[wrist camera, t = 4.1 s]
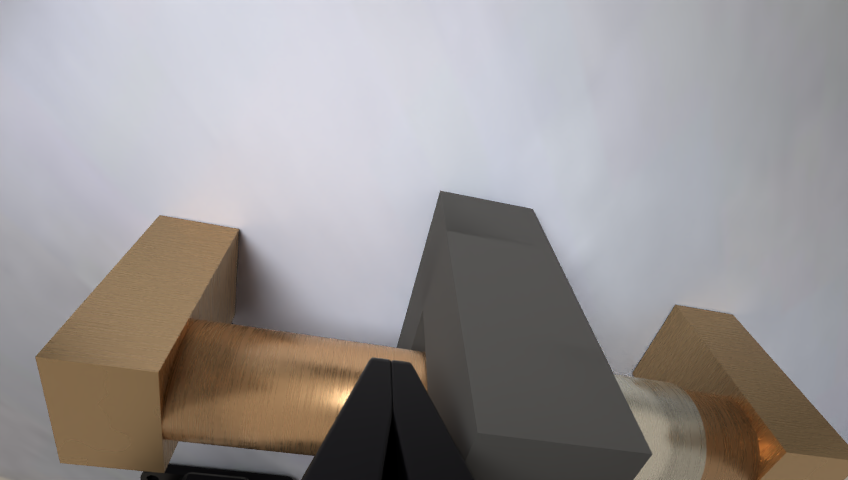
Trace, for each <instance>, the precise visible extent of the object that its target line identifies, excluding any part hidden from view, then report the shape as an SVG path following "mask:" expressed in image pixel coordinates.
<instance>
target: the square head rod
mask: <svg viewBox="0 0 848 480" xmlns="http://www.w3.org/2000/svg"><path fill="white" fill-rule="evenodd" d="M238 237H239V229H236V228H230V227H224V226H219V225H213V224H207V223H201V222H195V221H190V220H184V219H178V218H172V217H167V216H161V215H160V216H159V217H158V218H157V219H156V220H155V221H154V222H153V223H152V225H151V226H150V227H149V228H148V229H147V230H146V231H145V233H144V234H143V235H142V236H141V237H140V238H139V239H138V241H137V242H136V243H135V244H134V245H133V246H132V247H131V249H130V250H129V251H128V252H127V253H126V254H125V255H124V256H123V258H122V259H121V260H120V261H119V262H118V263H117V264H116V266H115V267H114V268H113V269H112V270H111V271H110V272H109V274H108V275H107V276H106V277H105V278H104V279H103V280H102V282H101V283H100V284H99V285H98V286H97V287H96V288H95V289H94V291H93V292H92V293H91V294H90V295H89V296H88V297H87V299H86V300H85V301H84V302H83V303H82V304H81V305H80V307H79V308H78V309H77V310H76V311H75V312H74V313H73V315H72V316H71V317H70V318H69V319H68V320H67V321H66V323H65V324H64V325H63V326H62V327H61V328H60V329H59V330H58V332H57V333H56V334H55V335H54V336H53V337H52V338H51V340H50V341H49V342H48V343H47V344H46V345H45V346H44V348H43V349H42V350H41V351H40V352H39V353H38V354H37V356H36V362H37V366H38V370H39V374H40V379H41V383H42V387H43V391H44V396H45V400H46V404H47V409H48V413H49V417H50V421H51V426H52V430H53V434H54V438H55V443H56V447H57V451H58V456H59V460H60V463H66V464H76V465H86V466H97V467H107V468H117V469H127V470H137V471H148V472H158V473H165V470H166V468H167V466H168V464H169V461H170V459H171V457H172V455H173V452H174V450H175V448H176V446H177V443H178V441H182V442H191V443H201V444H210V445H219V446H228V447H238V448H247V449H256V450H266V451H275V452H284V453H293V454H303V455H312V456H315V455H316V453H317V451H318V449H319V447H320V446H321V444H322V442H323V440H324V439H325V437H326V435H327V433H328V432H329V430H330V428H331V426H332V425H333V423H334V421H335V419H336V418H337V416H338V414H339V412H340V410H341V409H342V407H343V405H344V403H345V402H346V400H347V398H348V396H349V395H350V393H351V391H352V389H353V388H354V386H355V384H356V382H357V381H358V379H359V377H360V375H361V373H362V372H363V370H364V368H365V366H366V365H367V363H368V361H369V360H370V359H371V358H372V357H375V358H383V359H389V360H391V361H392V360H398V361H406V362H410V363H411V364H412V365H413V367H414V369H415V370H416V372H417V374H418V376H419V378H420V380H421V381H422V383H423V385H424V387H425V389H426V391H427V392H428V386H427V369H426V352H422V351H415V350H408V349H401V348H394V347H387V346H380V345H373V344H366V343H359V342H352V341H345V340H339V339H332V338H325V337H318V336H311V335H304V334H297V333H290V332H283V331H276V330H269V329H263V328H256V327H249V326H242V325H235V324H231V322H232V320H233V318H234V315H235V301H236V280H237V258H238ZM633 375H634V377H630V376H623V375H616V374H614V376H615V378H616V380H617V382H618V384H619V386H620V388H621V390H622V392H623V395H624V397H625V399H626V401H627V403H628V405H629V407H630V409H631V411H632V413H633V415H634V417H635V419H636V421H637V423H638V425H639V427H640V429H641V431H642V433H643V435H644V437H645V440H646V442H647V444H648V446H649V448H650V450H651V452H652V456H651V457H650V458H649V460H648V461H647V462H646V464H645V465H644V466H643V468H642V469H641V470H640V472H639V473H638V474H637V476H636V477H635V478H634V480H844V479H845V478H846V477H847V476H848V444H847V443H846V442H845V441H844V440H843V439H842V438H841V436H840V435H839V434H838V433H837V432H836V431H835V430H834V429H833V427H832V426H831V425H830V424H829V423H828V422H827V421H826V419H825V418H824V417H823V416H822V415H821V414H820V413H819V412H818V410H817V409H816V408H815V407H814V406H813V405H812V404H811V403H810V401H809V400H808V399H807V398H806V397H805V396H804V395H803V393H802V392H801V391H800V390H799V389H798V388H797V387H796V386H795V384H794V383H793V382H792V381H791V380H790V379H789V378H788V377H787V375H786V374H785V373H784V372H783V371H782V370H781V369H780V367H779V366H778V365H777V364H776V363H775V362H774V361H773V360H772V358H771V357H770V356H769V355H768V354H767V353H766V352H765V351H764V349H763V348H762V347H761V346H760V345H759V344H758V343H757V341H756V340H755V339H754V338H753V337H752V336H751V335H750V334H749V332H748V331H747V330H746V329H745V328H744V327H743V326H742V325H741V323H740V322H739V321H738V320H737V319H736V318H735V317H734V315H732V314H726V313H720V312H714V311H708V310H703V309H697V308H691V307H685V306H680V305H675V307H674V308H673V310H672V311H671V313H670V314H669V316H668V318H667V319H666V321H665V322H664V324H663V326H662V327H661V329H660V330H659V332H658V334H657V335H656V337H655V338H654V340H653V341H652V343H651V345H650V346H649V348H648V349H647V351H646V353H645V354H644V356H643V357H642V359H641V360H640V362H639V364H638V365H637V367H636V368H635V370H634V372H633Z"/></svg>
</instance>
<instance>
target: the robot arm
mask: <svg viewBox="0 0 848 480" xmlns="http://www.w3.org/2000/svg"><path fill="white" fill-rule="evenodd" d="M141 480H293V479H291V478H289V477H285V476H276V475H266V474H256V473H246V472H236V471H226V470H216V469H206V468H196V467H186V466H176V465H168V466H167V468H166V470H165V473H158V472H148V471H143V473H142V475H141ZM301 480H475V479H474V477H473V475H472V474H471V472H470V470H469V468H468V466H467V464H466V462H465V461H464V459H463V457H462V455H461V453H460V451H459V450H458V448H457V446H456V444H455V442H454V440H453V439H452V437H451V435H450V433H449V431H448V429H447V427H446V426H445V424H444V422H443V420H442V418H441V416H440V415H439V413H438V411H437V409H436V407H435V405H434V404H433V402H432V400H431V398H430V396H429V394H428V392H427V391H426V389H425V387H424V385H423V383H422V381H421V380H420V378H419V376H418V374H417V372H416V370H415V369H414V367H413V365H412V364H411V363H410V362H406V361H398V360H392V361H391V360H389V359H383V358H375V357H372V358H371V359H370V360H369V361H368V363H367V365H366V366H365V368H364V370H363V372H362V373H361V375H360V377H359V379H358V381H357V382H356V384H355V386H354V388H353V389H352V391H351V393H350V395H349V396H348V398H347V400H346V402H345V403H344V405H343V407H342V409H341V410H340V412H339V414H338V416H337V418H336V419H335V421H334V423H333V425H332V426H331V428H330V430H329V432H328V433H327V435H326V437H325V439H324V440H323V442H322V444H321V446H320V447H319V449H318V451H317V453H316V455H315V456H314V458H313V460H312V462H311V463H310V465H309V467H308V469H307V470H306V472H305V474H304V476H303V477H302V479H301Z"/></svg>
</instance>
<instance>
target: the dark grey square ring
mask: <svg viewBox="0 0 848 480" xmlns="http://www.w3.org/2000/svg"><path fill="white" fill-rule="evenodd" d="M397 348H401V349H408V350H415V351H422V352H426V369H427V386H428V394H429V396H430V398H431V400H432V402H433V404H434V405H435V407H436V409H437V411H438V413H439V415H440V416H441V418H442V420H443V422H444V424H445V426H446V427H447V429H448V431H449V433H450V435H451V437H452V439H453V440H454V442H455V444H456V446H457V448H458V450H459V451H460V453H461V455H462V457H463V459H464V461H465V462H466V464H467V466H468V468H469V470H470V472H471V474H472V475H473V477H474V479H475V480H634V478H635V477H636V476H637V474H638V473H639V472H640V470H641V469H642V468H643V466H644V465H645V464H646V462H647V461H648V460H649V458H650V457H651V456H652V452H651V450H650V448H649V446H648V444H647V442H646V440H645V437H644V435H643V433H642V431H641V429H640V427H639V425H638V423H637V421H636V419H635V417H634V415H633V413H632V411H631V409H630V407H629V405H628V403H627V401H626V399H625V397H624V395H623V392H622V390H621V388H620V386H619V384H618V382H617V380H616V378H615V376H614V374H613V372H612V370H611V368H610V366H609V364H608V362H607V360H606V358H605V356H604V354H603V352H602V350H601V347H600V345H599V343H598V341H597V339H596V337H595V335H594V333H593V331H592V329H591V327H590V325H589V323H588V321H587V319H586V317H585V315H584V313H583V311H582V309H581V307H580V305H579V302H578V300H577V298H576V296H575V294H574V292H573V290H572V288H571V286H570V284H569V282H568V280H567V278H566V276H565V274H564V272H563V270H562V268H561V266H560V264H559V262H558V260H557V257H556V255H555V253H554V251H553V249H552V247H551V245H550V243H549V241H548V239H547V237H546V235H545V233H544V231H543V229H542V227H541V225H540V223H539V221H538V219H537V217H536V214H535V212H534V210H533V209H530V208H525V207H520V206H515V205H510V204H504V203H499V202H494V201H489V200H484V199H479V198H474V197H469V196H464V195H459V194H454V193H449V192H444V191H440V194H439V197H438V201H437V204H436V208H435V212H434V215H433V219H432V222H431V226H430V230H429V233H428V237H427V241H426V244H425V248H424V251H423V255H422V259H421V262H420V266H419V269H418V273H417V277H416V280H415V284H414V287H413V291H412V295H411V298H410V302H409V306H408V309H407V313H406V316H405V320H404V324H403V327H402V331H401V334H400V338H399V342H398V345H397Z"/></svg>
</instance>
